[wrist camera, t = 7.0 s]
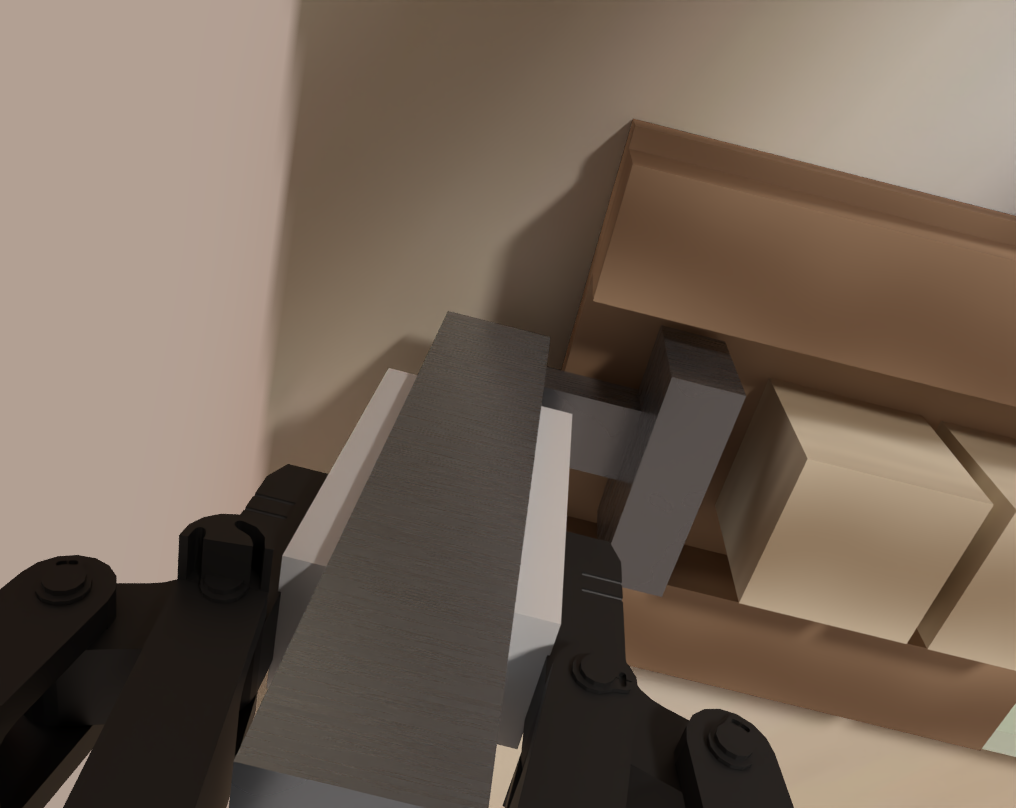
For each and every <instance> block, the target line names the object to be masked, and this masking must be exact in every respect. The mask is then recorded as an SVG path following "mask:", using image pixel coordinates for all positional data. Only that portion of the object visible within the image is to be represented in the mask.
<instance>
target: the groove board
mask: <svg viewBox="0 0 1016 808" xmlns="http://www.w3.org/2000/svg"><path fill="white" fill-rule="evenodd" d="M661 325H663V326H667V327H671V328H675V329H679V330H682V331H686V332H690V333H694V334H698V335H702V336H706V337H710V338H714V339H718V340H722V341H725V342H726V345H727V348H728V350H729V353H730V355H731V358H732V360H733V363H734V366H735V368H736V371H737V373H738V376H739V379H740V381H741V384H742V386H743V389H744V391H745V394H746V398H745V400H744V403H743V405H742V407H741V410H740V412H739V415H738V417H737V419H736V422H735V424H734V426H733V429H732V431H731V434H730V436H729V438H728V441H727V443H726V446H725V448H724V450H723V453H722V455H721V457H720V460H719V462H718V465H717V467H716V469H715V472H714V474H713V477H712V479H711V481H710V484H709V486H708V488H707V491H706V493H705V496H704V498H703V500H702V503H701V505H700V507H699V510H698V512H697V515H696V517H695V519H694V522H693V524H692V527H691V529H690V531H689V534H688V536H687V538H686V541H685V543H684V546H683V548H682V550H681V553H680V555H679V557H678V560H677V562H676V565H675V567H674V569H673V572H672V574H671V577H670V579H669V581H668V584H667V586H666V588H665V591H664V593H663V596H662V597H660V596H656V595H651V594H647V593H643V592H639V591H635V590H631V589H627V588H623V587H622V590H623V599H622V602H623V611H624V632H625V653H626V663H627V664H628V665H630V666H634V667H638V668H642V669H646V670H650V671H654V672H658V673H663V674H667V675H671V676H675V677H679V678H683V679H687V680H691V681H696V682H700V683H704V684H708V685H712V686H716V687H720V688H724V689H729V690H733V691H737V692H741V693H745V694H749V695H753V696H757V697H762V698H766V699H770V700H774V701H778V702H782V703H786V704H790V705H795V706H799V707H803V708H807V709H811V710H815V711H819V712H823V713H828V714H832V715H836V716H840V717H844V718H848V719H852V720H856V721H861V722H865V723H869V724H873V725H877V726H881V727H885V728H889V729H894V730H898V731H902V732H906V733H910V734H914V735H918V736H922V737H927V738H931V739H935V740H939V741H943V742H947V743H951V744H955V745H960V746H964V747H968V748H972V749H976V750H981V749H982V748H983V746H984V745H985V744H986V742H987V741H988V740H989V738H990V737H991V736H992V734H993V733H994V732H995V730H996V729H997V728H998V726H999V725H1000V724H1001V722H1002V721H1003V720H1004V718H1005V717H1006V716H1007V714H1008V713H1009V712H1010V710H1011V709H1012V708H1013V706H1014V705H1015V704H1016V671H1015V670H1011V669H1007V668H1002V667H998V666H994V665H990V664H986V663H982V662H978V661H974V660H970V659H966V658H961V657H957V656H953V655H949V654H945V653H941V652H937V651H933V650H929V649H927V647H926V646H925V644H924V642H923V640H922V638H921V636H920V634H919V632H918V630H917V628H916V630H915V631H914V633H913V635H912V636H911V638H910V639H909V641H908V643H907V644H904V643H900V642H896V641H892V640H888V639H884V638H880V637H876V636H871V635H867V634H863V633H859V632H855V631H851V630H847V629H843V628H839V627H835V626H831V625H826V624H822V623H818V622H814V621H810V620H806V619H802V618H798V617H794V616H790V615H786V614H781V613H777V612H773V611H769V610H765V609H761V608H757V607H753V606H749V605H745V604H741V603H739V601H738V597H737V593H736V589H735V585H734V581H733V577H732V572H731V568H730V564H729V560H728V556H727V552H726V548H725V544H724V540H723V536H722V532H721V528H720V523H719V519H718V515H717V511H716V507H715V504H716V502H717V499H718V497H719V495H720V492H721V490H722V488H723V485H724V483H725V481H726V478H727V476H728V474H729V471H730V469H731V467H732V464H733V462H734V459H735V457H736V455H737V452H738V450H739V448H740V445H741V443H742V441H743V438H744V436H745V434H746V431H747V429H748V427H749V424H750V422H751V419H752V417H753V415H754V412H755V410H756V408H757V405H758V403H759V401H760V398H761V396H762V394H763V391H764V389H765V387H766V384H767V382H768V380H769V378H772V379H776V380H780V381H784V382H788V383H792V384H796V385H800V386H804V387H809V388H813V389H817V390H821V391H825V392H829V393H833V394H837V395H841V396H845V397H849V398H853V399H857V400H861V401H865V402H869V403H873V404H877V405H881V406H885V407H889V408H893V409H897V410H901V411H905V412H909V413H913V414H917V415H921V416H923V417H924V419H925V420H926V421H927V422H928V424H929V425H930V426H931V427H932V429H933V430H934V431H936V429H937V427H938V426H939V424H940V422H941V421H945V422H949V423H953V424H957V425H961V426H965V427H969V428H973V429H977V430H981V431H985V432H989V433H993V434H997V435H1001V436H1005V437H1009V438H1013V439H1016V216H1014V215H1010V214H1006V213H1002V212H998V211H994V210H990V209H986V208H982V207H978V206H974V205H970V204H966V203H963V202H959V201H955V200H951V199H947V198H943V197H939V196H935V195H931V194H927V193H923V192H919V191H915V190H911V189H907V188H904V187H900V186H896V185H892V184H888V183H884V182H880V181H876V180H872V179H868V178H864V177H860V176H856V175H852V174H848V173H845V172H841V171H837V170H833V169H829V168H825V167H821V166H817V165H813V164H809V163H805V162H801V161H797V160H793V159H789V158H786V157H782V156H778V155H774V154H770V153H766V152H762V151H758V150H754V149H750V148H746V147H742V146H738V145H734V144H730V143H727V142H723V141H719V140H715V139H711V138H707V137H703V136H699V135H695V134H691V133H687V132H683V131H679V130H675V129H671V128H668V127H664V126H660V125H656V124H652V123H648V122H644V121H640V120H636V119H633V121H632V124H631V128H630V131H629V135H628V138H627V142H626V145H625V149H624V152H623V156H622V159H621V163H620V166H619V170H618V173H617V177H616V180H615V184H614V187H613V191H612V194H611V198H610V201H609V205H608V208H607V212H606V215H605V219H604V222H603V226H602V229H601V233H600V236H599V240H598V243H597V247H596V250H595V254H594V257H593V261H592V264H591V268H590V271H589V275H588V278H587V282H586V285H585V289H584V292H583V296H582V299H581V303H580V306H579V310H578V313H577V317H576V320H575V324H574V327H573V331H572V334H571V338H570V341H569V345H568V348H567V352H566V355H565V359H564V362H563V366H562V369H561V370H562V371H566V372H570V373H574V374H578V375H582V376H586V377H590V378H594V379H598V380H602V381H606V382H610V383H614V384H618V385H622V386H626V387H630V388H634V389H638V390H639V387H640V385H641V382H642V379H643V376H644V373H645V370H646V367H647V364H648V361H649V359H650V356H651V353H652V350H653V347H654V344H655V341H656V338H657V335H658V333H659V330H660V327H661ZM607 480H608V478H607V477H603V476H599V475H595V474H591V473H587V472H583V471H579V470H575V469H571V468H569V485H568V503H567V521H566V531H567V532H571V533H575V534H579V535H583V536H587V537H591V538H595V539H597V509H598V506H599V503H600V500H601V497H602V494H603V492H604V489H605V486H606V483H607Z"/></svg>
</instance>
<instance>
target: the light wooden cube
mask: <svg viewBox="0 0 1016 808" xmlns="http://www.w3.org/2000/svg"><path fill="white" fill-rule="evenodd" d="M935 432H936V434H937V435H938V436H939V437H940V439H941V440H942V441H943V442H944V444H945V445H946V446H947V447H948V449H949V450H950V451H951V452H952V454H953V455H954V456H955V457H956V459H957V460H958V461H959V462H960V463H961V465H962V466H963V467H964V468H965V470H966V471H967V472H968V473H969V475H970V476H971V477H972V478H973V480H974V481H975V482H976V483H977V485H978V486H979V487H980V488H981V490H982V491H983V492H984V493H985V495H986V496H987V497H988V498H989V500H990V501H991V502H992V503H993V507H992V509H991V510H990V512H989V513H988V515H987V517H986V518H985V520H984V521H983V523H982V524H981V526H980V528H979V529H978V531H977V532H976V534H975V536H974V537H973V539H972V540H971V542H970V544H969V545H968V547H967V548H966V550H965V552H964V553H963V555H962V556H961V558H960V560H959V561H958V563H957V564H956V566H955V568H954V569H953V571H952V572H951V574H950V576H949V577H948V579H947V580H946V582H945V583H944V585H943V587H942V588H941V590H940V591H939V593H938V595H937V596H936V598H935V599H934V601H933V603H932V604H931V606H930V607H929V609H928V611H927V612H926V614H925V615H924V617H923V619H922V620H921V622H920V623H919V625H918V627H917V630H918V632H919V634H920V636H921V638H922V640H923V642H924V644H925V646H926V647H927V649H929V650H933V651H937V652H941V653H945V654H949V655H953V656H957V657H961V658H966V659H970V660H974V661H978V662H982V663H986V664H990V665H994V666H998V667H1002V668H1007V669H1011V670H1015V671H1016V439H1013V438H1009V437H1005V436H1001V435H997V434H993V433H989V432H985V431H981V430H977V429H973V428H969V427H965V426H961V425H957V424H953V423H949V422H945V421H941V422H940V424H939V426H938V427H937V429H936V431H935Z"/></svg>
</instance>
